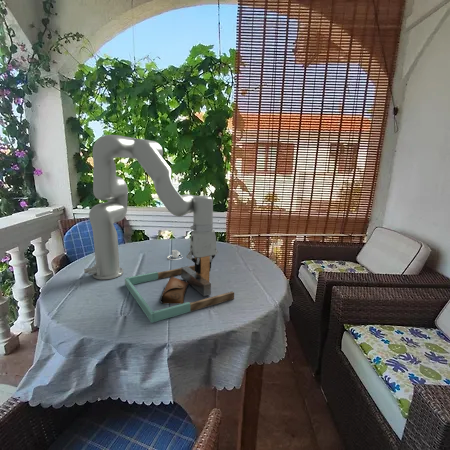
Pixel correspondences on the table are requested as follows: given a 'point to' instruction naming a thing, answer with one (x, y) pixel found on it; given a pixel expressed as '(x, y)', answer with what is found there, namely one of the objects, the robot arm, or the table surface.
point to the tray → (147, 310)
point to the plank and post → (199, 276)
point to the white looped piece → (174, 254)
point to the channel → (199, 303)
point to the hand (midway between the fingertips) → (202, 271)
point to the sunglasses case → (174, 291)
